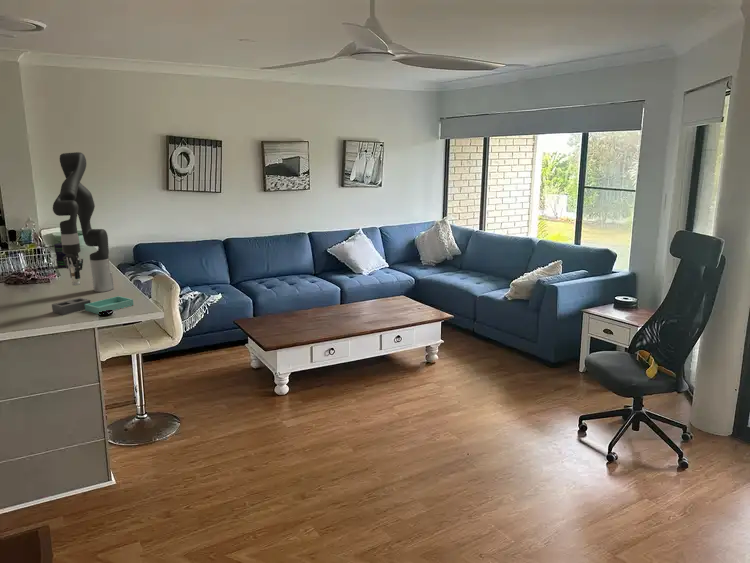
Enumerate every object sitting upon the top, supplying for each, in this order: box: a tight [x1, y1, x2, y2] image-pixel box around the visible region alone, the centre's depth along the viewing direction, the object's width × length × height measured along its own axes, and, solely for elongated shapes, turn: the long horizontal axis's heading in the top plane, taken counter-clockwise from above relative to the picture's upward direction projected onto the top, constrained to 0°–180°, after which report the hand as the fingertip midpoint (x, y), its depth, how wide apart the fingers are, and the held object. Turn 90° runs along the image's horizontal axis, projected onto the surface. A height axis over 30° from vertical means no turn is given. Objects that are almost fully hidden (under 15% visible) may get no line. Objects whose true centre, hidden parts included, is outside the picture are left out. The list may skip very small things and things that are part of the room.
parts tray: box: [84, 295, 134, 315], centre depth 291 cm, size 18×12×3 cm, turn 146°
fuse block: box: [51, 297, 92, 316], centre depth 288 cm, size 14×9×4 cm, turn 146°
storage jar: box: [53, 242, 67, 269], centre depth 387 cm, size 10×10×15 cm
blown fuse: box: [70, 264, 81, 286], centre depth 287 cm, size 3×3×10 cm
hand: (75, 278), depth 288 cm, fingers closed on blown fuse, 3 cm apart
